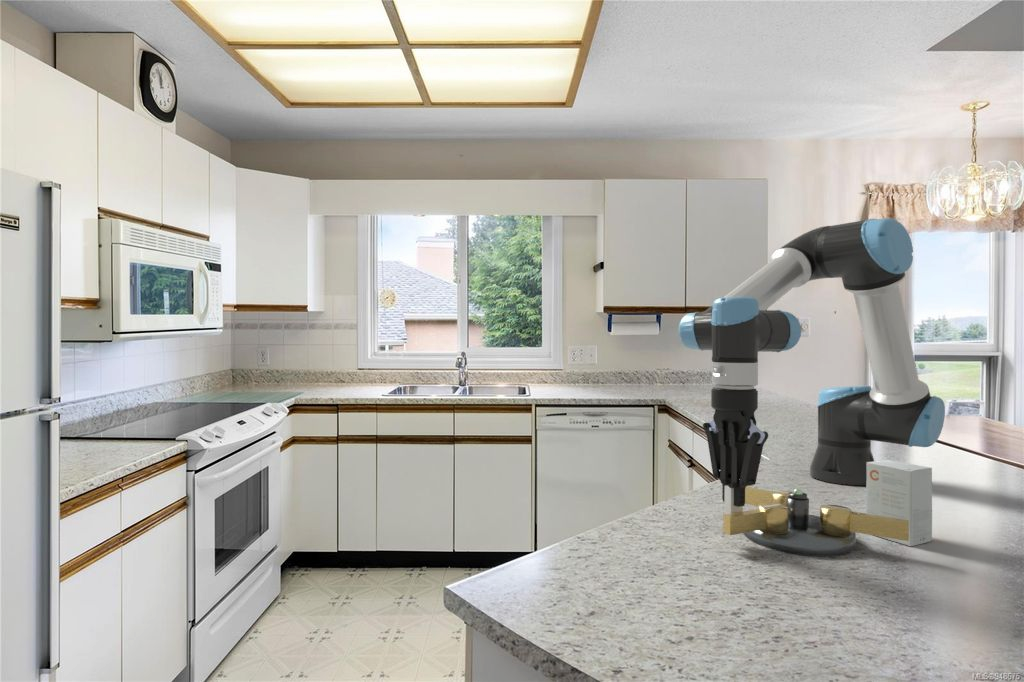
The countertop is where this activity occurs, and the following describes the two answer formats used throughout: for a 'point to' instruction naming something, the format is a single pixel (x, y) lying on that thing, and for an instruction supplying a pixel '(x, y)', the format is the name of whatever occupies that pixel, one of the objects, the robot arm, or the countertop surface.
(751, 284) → the robot arm
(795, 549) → the tribrach plate
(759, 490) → the knob
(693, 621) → the countertop surface
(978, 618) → the countertop surface
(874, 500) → the small box
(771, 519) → the knob
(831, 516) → the knob
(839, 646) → the countertop surface
